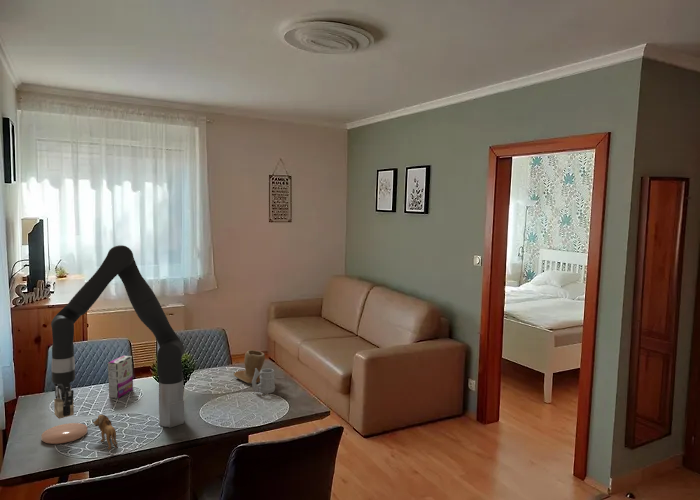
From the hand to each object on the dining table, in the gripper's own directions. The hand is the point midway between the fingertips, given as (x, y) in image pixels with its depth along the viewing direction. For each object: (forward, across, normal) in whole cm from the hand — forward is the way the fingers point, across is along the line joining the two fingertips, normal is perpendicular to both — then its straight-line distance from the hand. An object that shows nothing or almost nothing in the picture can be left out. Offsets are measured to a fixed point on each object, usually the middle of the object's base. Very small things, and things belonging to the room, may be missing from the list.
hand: (64, 412), depth 187 cm
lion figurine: (+9, -16, -9) cm, 21 cm away
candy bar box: (+9, +28, -32) cm, 43 cm away
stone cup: (+9, +3, -86) cm, 86 cm away
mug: (+9, -14, -81) cm, 83 cm away
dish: (+9, 0, 0) cm, 9 cm away
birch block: (+1, 0, 0) cm, 1 cm away
